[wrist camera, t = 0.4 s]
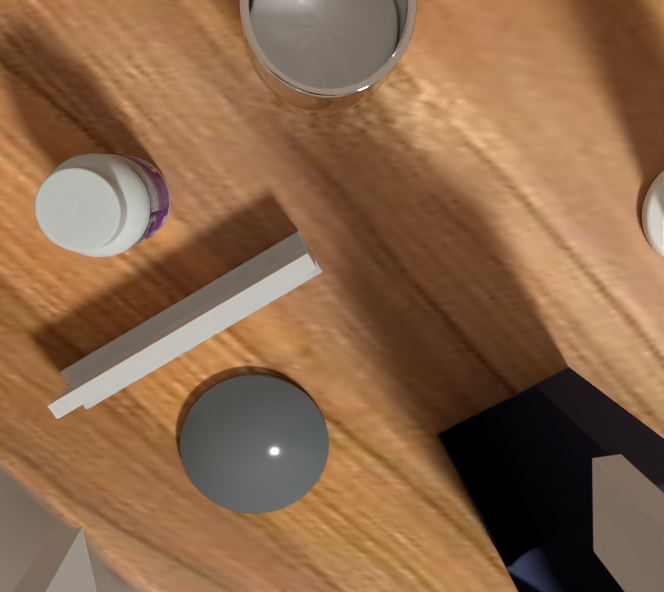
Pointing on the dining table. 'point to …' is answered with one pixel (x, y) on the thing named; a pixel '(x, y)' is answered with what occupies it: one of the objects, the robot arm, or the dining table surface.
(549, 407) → the vase
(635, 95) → the dining table surface
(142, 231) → the pill bottle
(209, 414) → the coaster
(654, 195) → the candle
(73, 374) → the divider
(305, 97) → the beer glass
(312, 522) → the dining table surface
